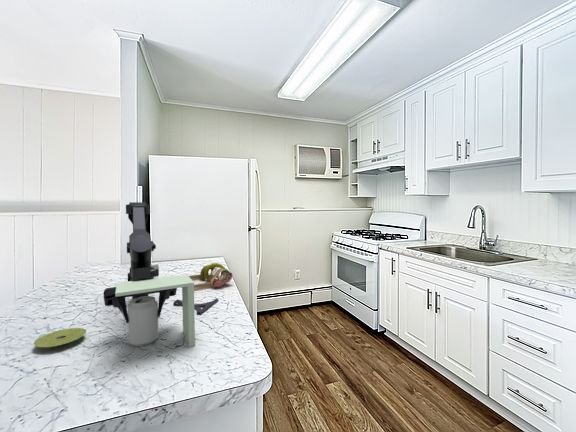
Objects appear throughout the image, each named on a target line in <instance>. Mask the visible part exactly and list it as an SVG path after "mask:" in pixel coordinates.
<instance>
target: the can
mask: <svg viewBox="0 0 576 432" xmlns="http://www.w3.org/2000/svg"><path fill="white" fill-rule="evenodd" d="M131 299H132V298H131ZM131 299H130V302H129V305H128V306H127V313H128V323H127V325H128V327H127V329H128V330H127V331H128V333H127V334H128V343H129V344H131V345H132V346H134V347H143V346H146V345H150V344H152V343H153V342H155V341H156V340H157V338H158V337H159V335H160V334H159V333H160V332H159V317H158V304H159V301H157V300H156V297H155V296H152V295H148V296H142V297H138V298H134V299H132V300H131Z"/></svg>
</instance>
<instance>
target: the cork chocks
mask: <svg viewBox="0 0 576 432" xmlns="http://www.w3.org/2000/svg"><path fill="white" fill-rule="evenodd" d="M188 276H189V277H190V278H191V280H192V281H193V282H194V281H200V280H207V279H206V278H204V279H201V278H200V277H199V276H200V273H199V274H193V275H192V274H191V275H188ZM215 288H217V287H213V286H212V285H211V283H210V282H202V283H194V292H195V291H200V290H208V289H215Z"/></svg>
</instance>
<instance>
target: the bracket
mask: <svg viewBox="0 0 576 432" xmlns="http://www.w3.org/2000/svg"><path fill="white" fill-rule="evenodd" d="M217 303H219V298H214V299H213V300H211V301H208V302H204V303H194V311H196V316H197V315H200V316H202V315H203V314H204V313H206V312H207V311H208V310H209V309H210V308H212V307H213V306H214V305H216V304H217ZM173 307H183V305H182V300H180V299H176V300H174V301H173Z"/></svg>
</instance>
